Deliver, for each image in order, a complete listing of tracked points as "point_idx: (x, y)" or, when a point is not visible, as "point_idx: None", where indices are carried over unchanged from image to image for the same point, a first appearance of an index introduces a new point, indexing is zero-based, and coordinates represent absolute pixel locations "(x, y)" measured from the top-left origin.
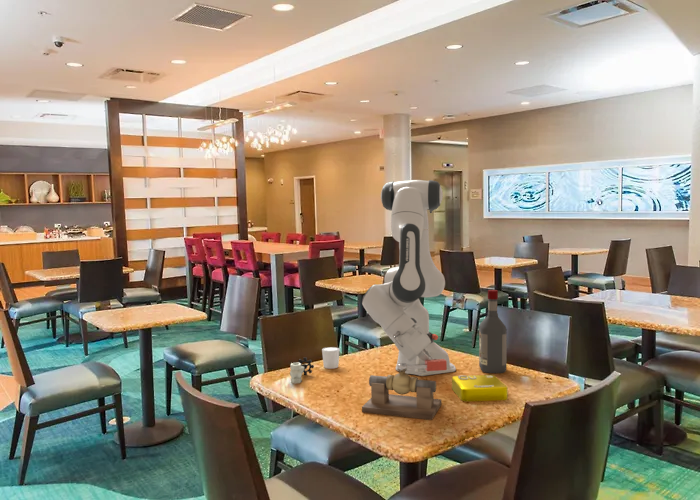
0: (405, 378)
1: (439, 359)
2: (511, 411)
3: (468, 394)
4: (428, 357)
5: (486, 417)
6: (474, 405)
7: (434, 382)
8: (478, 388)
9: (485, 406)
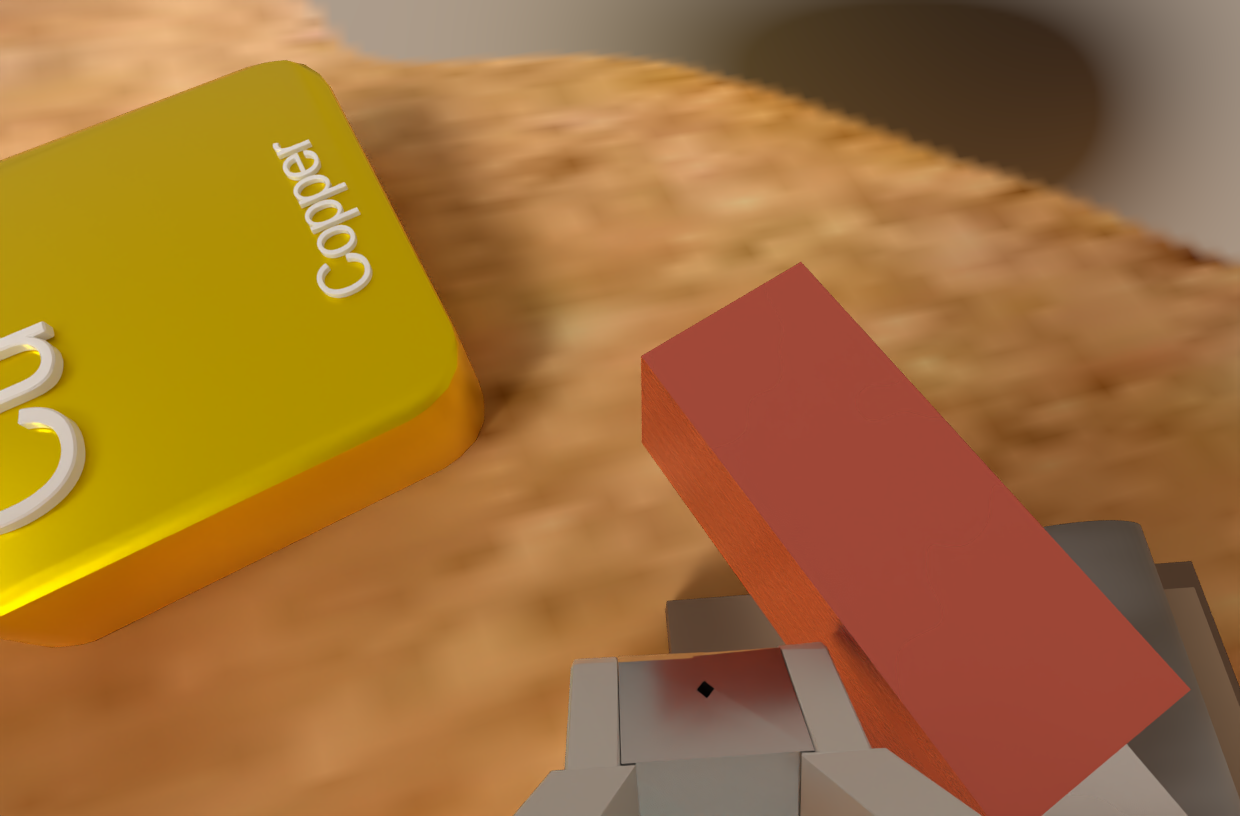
0: None
1: (733, 446)
2: (609, 80)
3: (466, 357)
4: (884, 755)
5: (821, 193)
6: (573, 322)
7: (1126, 522)
8: (397, 249)
9: (566, 243)
